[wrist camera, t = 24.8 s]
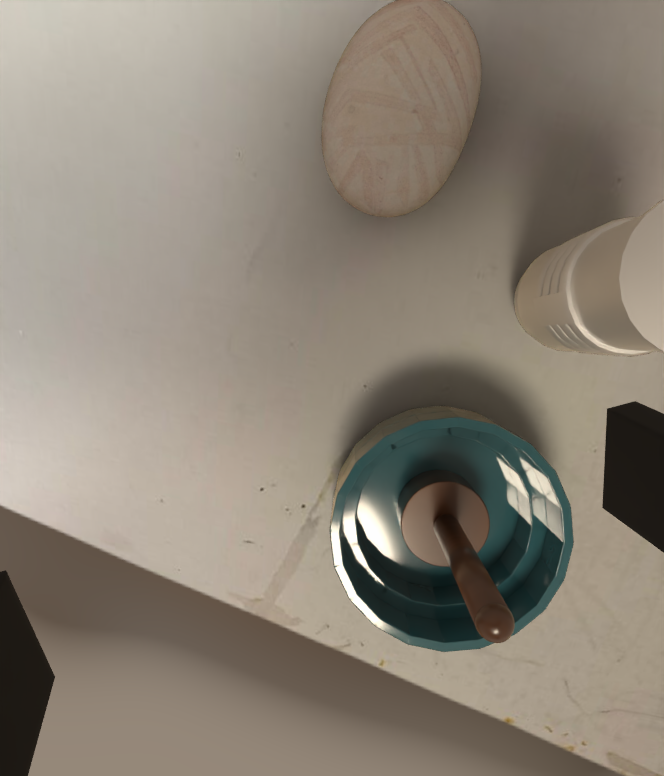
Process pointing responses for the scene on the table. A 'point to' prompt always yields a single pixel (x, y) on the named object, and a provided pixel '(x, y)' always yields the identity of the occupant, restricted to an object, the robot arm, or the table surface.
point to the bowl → (499, 553)
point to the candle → (599, 290)
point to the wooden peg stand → (455, 543)
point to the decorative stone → (401, 106)
